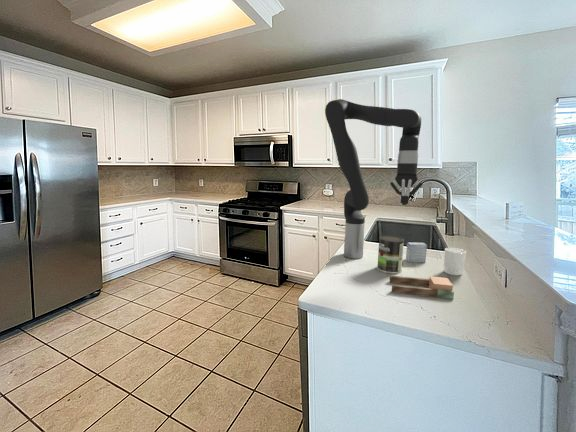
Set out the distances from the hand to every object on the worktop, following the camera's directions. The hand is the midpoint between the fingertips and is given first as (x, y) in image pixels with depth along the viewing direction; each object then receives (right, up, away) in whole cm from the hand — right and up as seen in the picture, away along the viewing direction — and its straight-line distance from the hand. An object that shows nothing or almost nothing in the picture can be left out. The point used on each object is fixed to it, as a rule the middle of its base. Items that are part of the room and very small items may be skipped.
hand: (404, 204), depth 119 cm
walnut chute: (0, -32, -13) cm, 34 cm away
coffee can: (-4, -28, +7) cm, 29 cm away
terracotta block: (+7, -32, -15) cm, 36 cm away
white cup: (+22, -29, +3) cm, 37 cm away
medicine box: (+13, -26, +18) cm, 35 cm away
